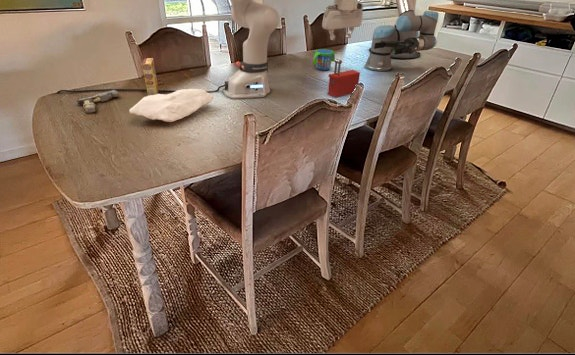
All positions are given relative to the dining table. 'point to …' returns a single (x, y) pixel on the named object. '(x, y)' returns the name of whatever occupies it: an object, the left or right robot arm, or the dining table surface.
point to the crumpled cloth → (171, 104)
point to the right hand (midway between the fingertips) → (384, 48)
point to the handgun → (95, 100)
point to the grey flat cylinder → (403, 54)
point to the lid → (342, 74)
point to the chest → (342, 86)
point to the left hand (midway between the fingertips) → (340, 38)
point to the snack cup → (323, 58)
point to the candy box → (150, 76)
